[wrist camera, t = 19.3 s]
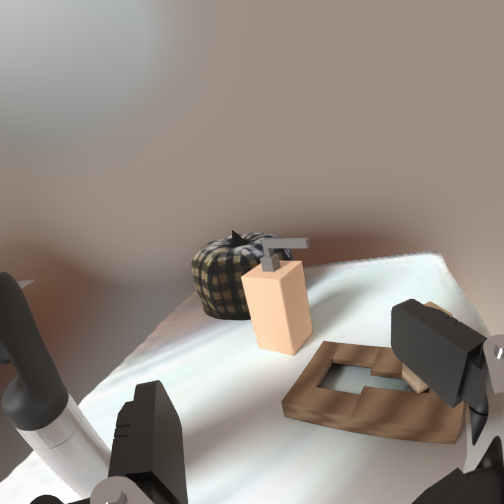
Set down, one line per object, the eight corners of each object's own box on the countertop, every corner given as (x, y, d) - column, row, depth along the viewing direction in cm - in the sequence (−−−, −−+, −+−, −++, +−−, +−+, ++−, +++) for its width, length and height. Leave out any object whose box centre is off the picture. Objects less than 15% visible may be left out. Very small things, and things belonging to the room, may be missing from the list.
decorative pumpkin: (314, 275, 91) (303, 210, 85) (273, 328, 67) (254, 244, 62) (233, 274, 106) (219, 219, 101) (179, 316, 83) (157, 249, 77)
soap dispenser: (257, 347, 61) (233, 247, 55) (279, 326, 68) (259, 232, 61) (313, 359, 53) (295, 247, 47) (331, 334, 60) (317, 231, 54)
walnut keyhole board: (284, 416, 41) (281, 401, 40) (325, 355, 54) (323, 340, 53) (454, 443, 26) (460, 428, 25) (462, 367, 38) (465, 351, 37)
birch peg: (413, 417, 34) (426, 330, 29) (395, 397, 39) (401, 312, 34) (440, 401, 34) (456, 314, 30) (421, 383, 39) (430, 299, 35)
